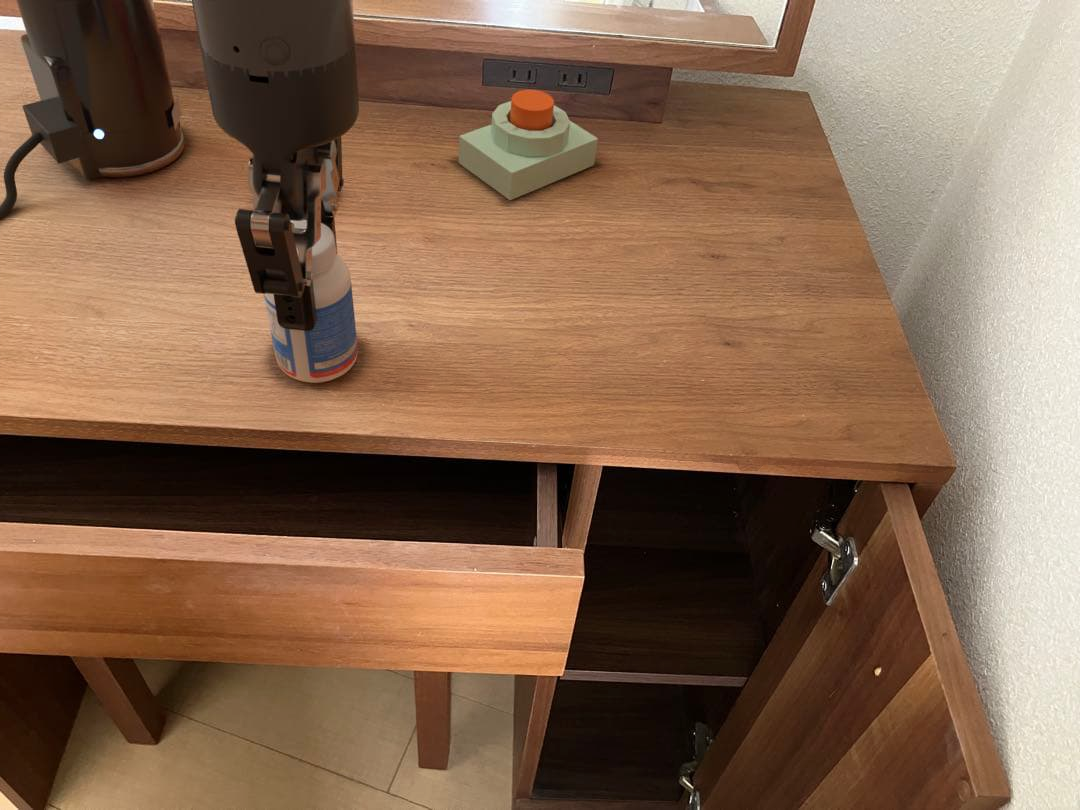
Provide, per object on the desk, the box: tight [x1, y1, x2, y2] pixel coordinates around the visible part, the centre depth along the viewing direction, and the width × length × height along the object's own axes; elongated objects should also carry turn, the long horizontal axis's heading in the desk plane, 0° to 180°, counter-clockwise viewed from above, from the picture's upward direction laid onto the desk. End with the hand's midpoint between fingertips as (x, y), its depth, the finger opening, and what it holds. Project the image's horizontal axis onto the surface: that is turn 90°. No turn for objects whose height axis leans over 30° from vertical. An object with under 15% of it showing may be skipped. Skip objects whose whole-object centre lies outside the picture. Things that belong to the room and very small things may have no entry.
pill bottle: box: [263, 220, 359, 384], centre depth 57 cm, size 6×5×10 cm
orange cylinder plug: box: [510, 89, 555, 131], centre depth 76 cm, size 4×4×2 cm
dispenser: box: [458, 100, 599, 201], centre depth 78 cm, size 10×7×4 cm
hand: (309, 294), depth 57 cm, fingers closed on pill bottle, 5 cm apart
